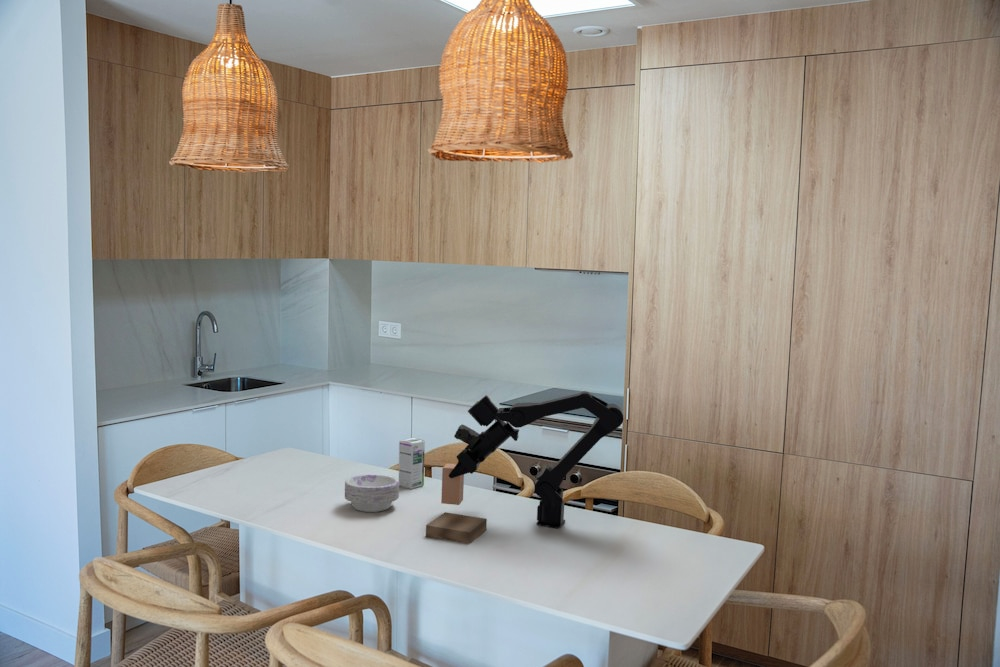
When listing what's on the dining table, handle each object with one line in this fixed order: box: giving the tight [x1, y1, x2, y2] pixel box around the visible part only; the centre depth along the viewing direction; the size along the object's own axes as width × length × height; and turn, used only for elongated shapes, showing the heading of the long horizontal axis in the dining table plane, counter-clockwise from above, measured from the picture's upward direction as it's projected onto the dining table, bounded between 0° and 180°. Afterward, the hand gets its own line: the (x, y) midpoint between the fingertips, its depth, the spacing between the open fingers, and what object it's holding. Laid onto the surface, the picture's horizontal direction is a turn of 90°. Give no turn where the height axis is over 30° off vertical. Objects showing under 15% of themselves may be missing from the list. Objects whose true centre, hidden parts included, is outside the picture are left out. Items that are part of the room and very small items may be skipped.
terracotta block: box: [440, 463, 465, 506], centre depth 225 cm, size 5×5×10 cm
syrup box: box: [398, 437, 426, 490], centre depth 253 cm, size 6×6×14 cm
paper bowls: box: [344, 474, 400, 513], centre depth 230 cm, size 15×15×8 cm
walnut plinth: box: [425, 511, 488, 545], centre depth 212 cm, size 12×12×3 cm
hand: (451, 474), depth 225 cm, fingers closed on terracotta block, 5 cm apart
